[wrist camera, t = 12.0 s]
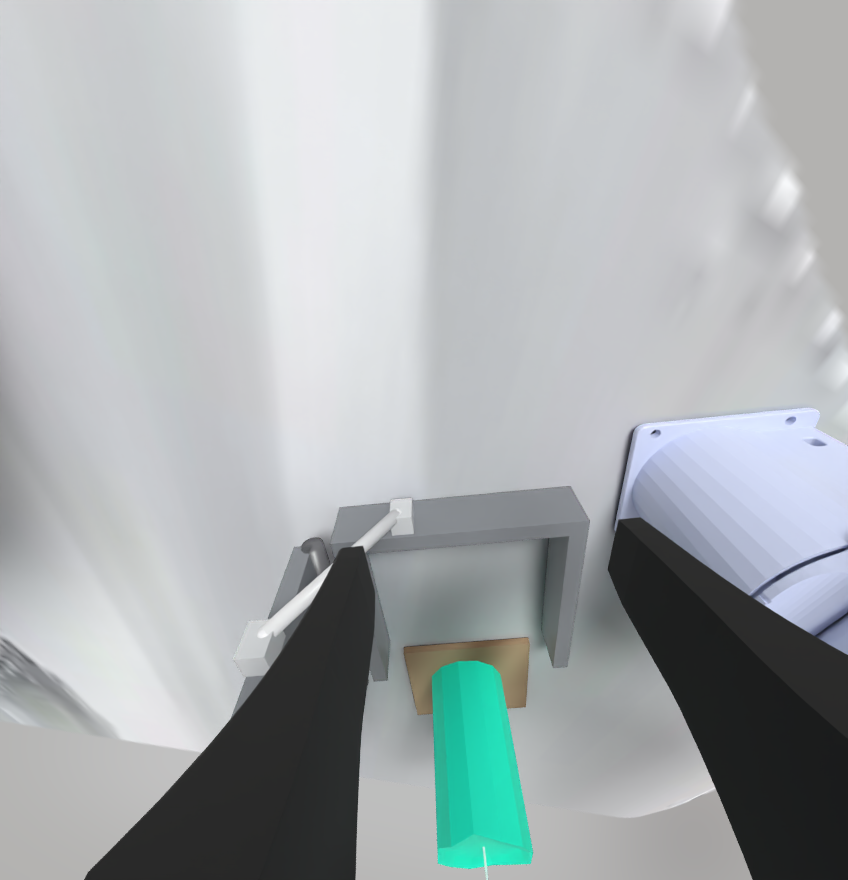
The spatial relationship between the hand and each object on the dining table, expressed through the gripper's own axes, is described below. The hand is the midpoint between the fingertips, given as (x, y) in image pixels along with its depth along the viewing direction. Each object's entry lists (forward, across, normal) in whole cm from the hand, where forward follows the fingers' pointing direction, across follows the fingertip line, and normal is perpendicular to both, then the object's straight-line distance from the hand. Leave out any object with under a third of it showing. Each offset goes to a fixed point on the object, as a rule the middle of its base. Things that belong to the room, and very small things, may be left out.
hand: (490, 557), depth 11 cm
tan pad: (+10, 0, +26) cm, 28 cm away
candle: (+10, +1, +26) cm, 28 cm away
